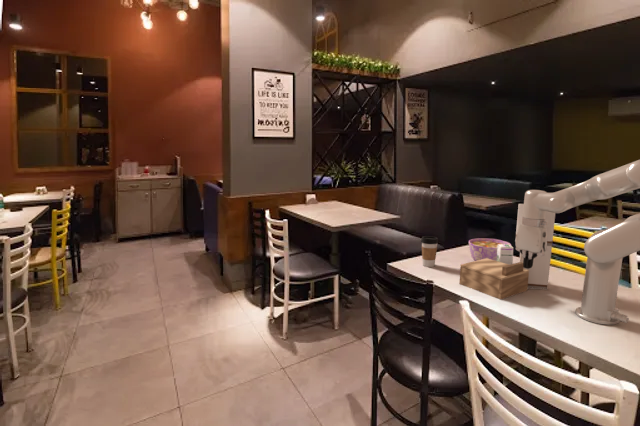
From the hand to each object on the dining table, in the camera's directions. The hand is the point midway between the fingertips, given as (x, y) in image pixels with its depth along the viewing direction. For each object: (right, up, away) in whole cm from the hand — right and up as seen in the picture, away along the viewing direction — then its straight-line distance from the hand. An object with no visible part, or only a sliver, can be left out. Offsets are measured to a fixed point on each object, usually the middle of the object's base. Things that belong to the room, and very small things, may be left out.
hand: (527, 267), depth 145 cm
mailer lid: (-7, -3, +13) cm, 15 cm away
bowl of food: (+5, -5, +45) cm, 46 cm away
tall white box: (+11, -10, +18) cm, 23 cm away
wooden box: (-7, -11, +15) cm, 19 cm away
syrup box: (+5, -8, +30) cm, 31 cm away
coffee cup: (-26, -6, +45) cm, 52 cm away
